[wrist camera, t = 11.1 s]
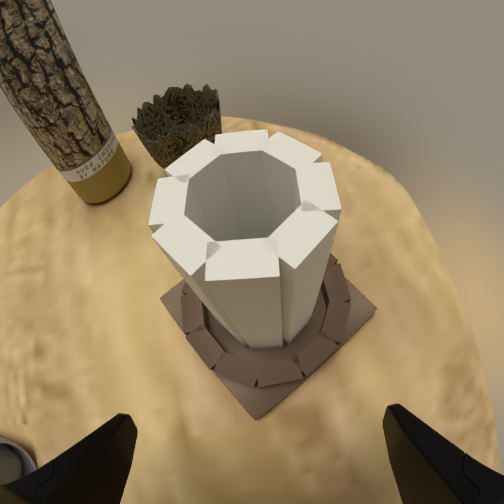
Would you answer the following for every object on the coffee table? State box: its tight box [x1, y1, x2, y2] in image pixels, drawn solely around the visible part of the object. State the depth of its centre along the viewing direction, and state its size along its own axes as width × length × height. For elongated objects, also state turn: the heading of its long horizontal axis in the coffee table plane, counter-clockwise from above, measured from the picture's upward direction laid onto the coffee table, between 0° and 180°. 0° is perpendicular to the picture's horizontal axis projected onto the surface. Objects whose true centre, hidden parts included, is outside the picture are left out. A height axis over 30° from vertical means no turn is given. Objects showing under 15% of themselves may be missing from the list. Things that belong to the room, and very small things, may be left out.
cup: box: [132, 84, 222, 169], centre depth 24 cm, size 8×7×8 cm
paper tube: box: [0, 0, 131, 203], centre depth 18 cm, size 7×7×25 cm
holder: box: [160, 253, 377, 421], centre depth 19 cm, size 11×11×3 cm
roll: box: [148, 129, 341, 350], centre depth 14 cm, size 6×6×12 cm
